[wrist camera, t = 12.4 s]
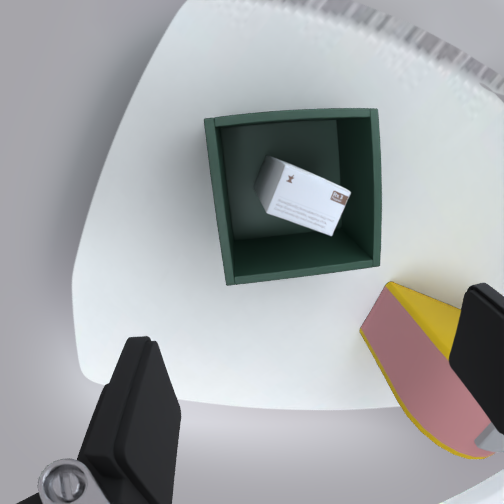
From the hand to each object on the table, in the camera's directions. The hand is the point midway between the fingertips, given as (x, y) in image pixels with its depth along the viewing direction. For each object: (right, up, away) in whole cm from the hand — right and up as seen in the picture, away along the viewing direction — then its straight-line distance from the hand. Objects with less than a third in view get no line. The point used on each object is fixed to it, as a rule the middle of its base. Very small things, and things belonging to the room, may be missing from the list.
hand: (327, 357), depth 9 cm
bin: (+2, +11, +28) cm, 31 cm away
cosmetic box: (+2, +11, +28) cm, 30 cm away
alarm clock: (+25, -8, +37) cm, 46 cm away
